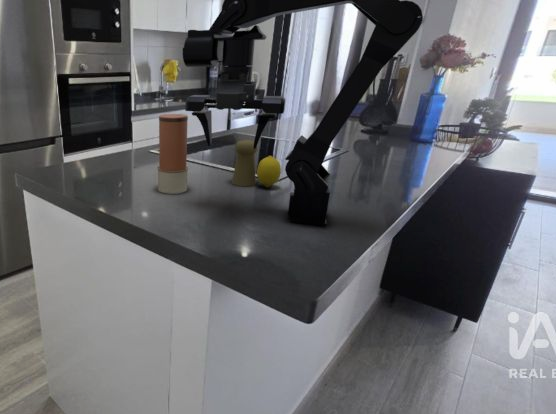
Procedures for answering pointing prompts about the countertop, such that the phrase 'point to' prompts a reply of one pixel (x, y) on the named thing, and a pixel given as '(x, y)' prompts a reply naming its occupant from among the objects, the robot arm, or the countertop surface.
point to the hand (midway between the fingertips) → (231, 147)
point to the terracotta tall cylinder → (173, 142)
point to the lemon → (268, 171)
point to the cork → (245, 164)
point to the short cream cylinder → (172, 181)
